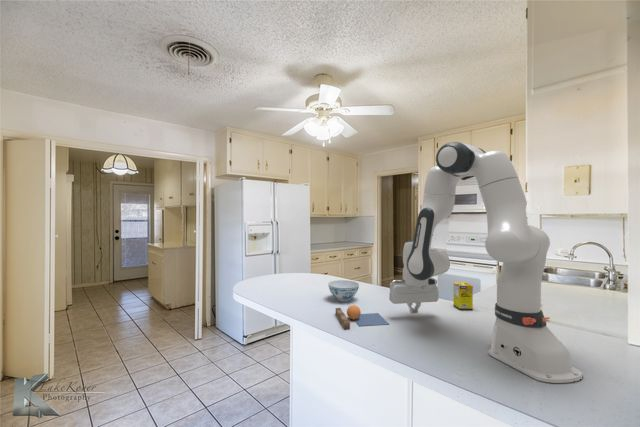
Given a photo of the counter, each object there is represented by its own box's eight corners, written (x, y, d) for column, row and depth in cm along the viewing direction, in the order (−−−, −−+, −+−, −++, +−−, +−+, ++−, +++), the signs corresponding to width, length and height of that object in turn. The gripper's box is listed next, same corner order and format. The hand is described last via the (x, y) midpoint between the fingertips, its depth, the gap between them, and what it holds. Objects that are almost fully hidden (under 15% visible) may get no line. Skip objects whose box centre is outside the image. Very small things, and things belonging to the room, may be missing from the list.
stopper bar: (349, 329, 105) (349, 322, 105) (344, 329, 105) (344, 322, 105) (340, 313, 121) (340, 307, 121) (335, 314, 121) (335, 308, 121)
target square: (389, 324, 110) (389, 324, 110) (358, 326, 108) (358, 325, 108) (378, 313, 122) (378, 313, 122) (350, 314, 120) (350, 314, 120)
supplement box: (473, 310, 126) (473, 285, 126) (459, 310, 126) (459, 285, 126) (466, 306, 132) (466, 282, 132) (453, 305, 132) (453, 282, 132)
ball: (347, 307, 112) (348, 322, 112) (361, 306, 113) (362, 321, 113) (345, 303, 118) (346, 317, 118) (358, 303, 118) (359, 316, 118)
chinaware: (358, 295, 148) (358, 280, 148) (359, 305, 133) (359, 288, 133) (329, 294, 149) (329, 279, 149) (327, 303, 134) (327, 287, 134)
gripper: (393, 282, 113) (392, 317, 113) (441, 280, 116) (440, 314, 116) (386, 278, 119) (386, 311, 119) (432, 276, 122) (432, 309, 123)
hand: (413, 313), depth 118 cm, fingers closed
